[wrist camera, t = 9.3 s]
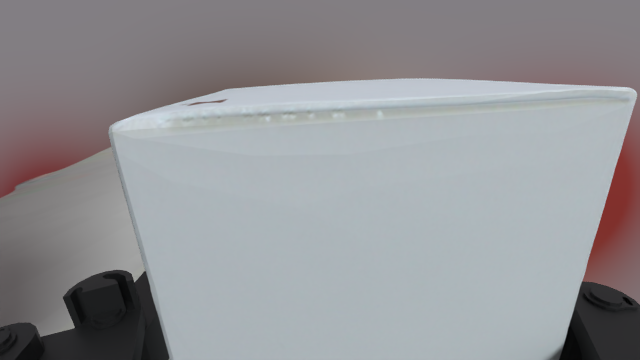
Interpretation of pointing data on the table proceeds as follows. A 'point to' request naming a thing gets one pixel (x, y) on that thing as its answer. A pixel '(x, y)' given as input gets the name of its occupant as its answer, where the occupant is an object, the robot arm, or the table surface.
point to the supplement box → (371, 216)
